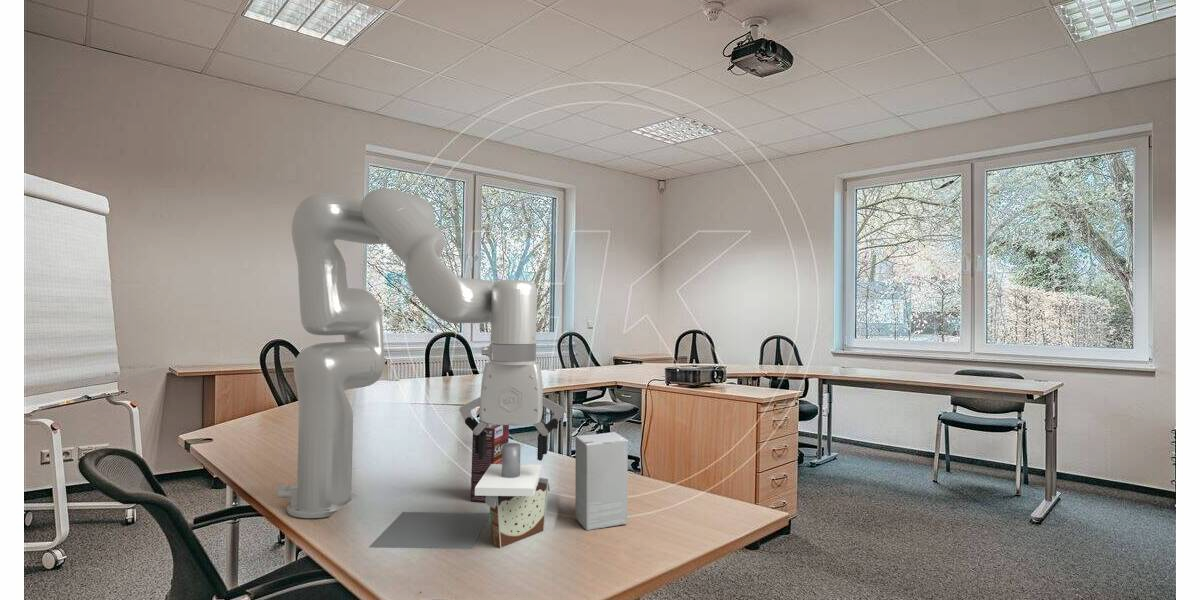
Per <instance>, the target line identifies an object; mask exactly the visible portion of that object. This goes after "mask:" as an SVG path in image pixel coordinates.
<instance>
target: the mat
mask: <svg viewBox="0 0 1200 600" xmlns="http://www.w3.org/2000/svg"><path fill="white" fill-rule="evenodd" d="M489 518H490V512H441V511H439V512H436V511H434V512H431V511H430V512H429V511H428V512H427V511H426V512H425V511H402V512H401V513H400V514H399V515H398V516H397V518H395V519H394V520H393V521H392V522H391V524H389V526H388V527H386V529H385V530H383V532H382V533H381V534H380V535H379V536H378V537H376V539H375V540H373V542H372V543H371V544H370V545H369V547H368V548H382V549H383V548H389V549H390V548H392V549H397V548H399V549H401V548H402V549H454V550H455V549H458V550H459V549H460V550H461V549H463V550H467V549H468V550H470V549H471V550H473V547H474V546H475V544H476V542H477V540H478V538H479V537H480V534H481V533H482V531H483V529H484V527H485V525H486V524H487V521H488V520H489Z"/></svg>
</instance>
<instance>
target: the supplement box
mask: <svg viewBox="0 0 1200 600" xmlns="http://www.w3.org/2000/svg"><path fill="white" fill-rule="evenodd" d="M485 432H486V433H487V441H486V456H485V457H484V458H483V459H482V460H479V459H478V453H475V436H476V435H475V434H474V433H473V432H472V445H471V446H472V447H471V477H470V503H480V504H486V502H485V499H486V496H475V487H476V485H477V484H478V482H479V481H480V480H481V478H482V477H483V475H484V474H485V472H486V471H487V469H488V468H489V467H490V465H491V464H502V445H503V444H506V443H510V442H509V437H510V436H509V435H510V433H509V432H510V425H487V426H486V427H485Z"/></svg>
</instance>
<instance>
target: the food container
mask: <svg viewBox="0 0 1200 600" xmlns="http://www.w3.org/2000/svg"><path fill="white" fill-rule="evenodd" d="M548 491H549V492H550V491H551V486H550V482H549V478H546V477H540V478H539V481H538V484H537V487H536V490H535V493H534V496H486V499H485V502H486V503H485V504H486V505H487V506H489V513H490V516H489V518H490V529H491V543H492V544H493V545H494V546H495V547H497V548H498V549H501V548H504V547H506V546H509V545H512V544H514V543H517V542H519V541H522V540H525V539H527V538H529V537H532V536H534V535H537V534H539V533H541V532H545V527H546V525H545V524H546V513H547V503H548Z"/></svg>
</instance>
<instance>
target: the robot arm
mask: <svg viewBox="0 0 1200 600" xmlns="http://www.w3.org/2000/svg"><path fill="white" fill-rule="evenodd" d="M292 216H293V217H292V219H291V220H292V221H291V238H292V243H293V244H292V245H293V248H294V252H295V256H296V261H297V272H298V273H297V275H298V276H297V277H298V278H297V279H298V293H299V295H298V296H299V310H300V311H299V313H300V321H301V325H302V328H303V329H304V330H305V331H306V332H308V333H309V334H312V335H314V336H326V337H327V336H343V337H344V338H343V339H344V341H335V342H333V341H332V342H331V341H330V342H320V343H316V344H312V345H309V346H307V347H305V348H304V349H303V350H301V351H300V353H299V354H297V356H296V358H295V359H294V364H293V375H294V383H295V387H296V392H297V400H298V403H297V404H298V436H297V437H298V438H297V439H298V440H297V446H298V447H297V475H296V476H297V478H296V479H297V480H296V481H297V482H296V484H295V485H290V484H281V485H280V484H279V486H278V488H277V490H276V491H277V498H278V499H285V498H286V499H290V503H288V505H287V510H286V511H287V512H286V513H287V514H288V515H290V516H291V517H295V518H300V519H320V518H330V517H331V516H333V515H334V514H335V513H337V512H338V511H339V510H341V509H342V508H343V507H344V506H346V505H347V504H348V503H350V502H351V501H352V500H354V499H355V498H356V497H358V495H357V494H355V493H354V492H352V489H353V487H352V486H353V484H352V483H353V476H352V475H353V446H354V445H353V443H354V442H353V440H354V414H353V408H352V405H351V402H350V400H349V398H348V397H347V395H346V392H345V391H347V390H353V389H361V388H365V387H370V386H372V385H374V384H375V383H377V382H378V381H379V380H380V378H381V376H382V374H383V372H384V368H385V349H384V329H383V328H384V326H383V315H382V310H381V306H380V303H379V301H378V299H377V298H376V297H375V296H374V294H373V293H371V292H370V291H368V290H366V289H361V288H353V287H352V288H350V287H349V286H348V281H347V280H348V279H347V266H346V262H345V259H344V257H343V255H342V253H341V251H340V250H339V248H338V247H337V245H336V244H335V241H336V240H339V241H344V242H352V243H357V244H358V243H359V244H365V245H382V244H383V245H386V246H387V247H388V248H389V249H390V250H391V251H392V252H393V253H394V254H395V255H396V256H397V257H398V259H400V261H402V263H404V265H405V266H404V267H405V268H404V270H405V271H404V272H405V276H406V280H407V283H408V286H409V288H410V290H411V291H412V293H413V294H414V295H415V296H416V297H417V299H418V300H419V301H420V302H421V303H422V304H423V305H424V306H425V307H426V308H427V310H429V311H430V312H431V313H432V314H433V315H435V316H436V317H437V318H439V319H440V320H441V321H444V322H446V323H449V324H488V323H490V343H489V345H488V346H483V347H481V353H480V354H481V355H482V356H486V357H487V358H488V359H489V362H485V363H484V367H483V372H482V379H481V385H480V387H481V388H480V395H479V397H477V398H475V399H473V400H472V401H469V402H467V403H464V404H462V405H461V406H460V407H459V409H458V410H459V413H460V414H461V417H462V419H463V420H464V423H465V425H466V426H467V427H468V428H469V429H470V430H471V431H472V434H473V433H474V434H475V435H476V436H475V453H478V459H479V460H482V459H483V458H484V457H485V456H486V441H487V433H486V432H485V427H486V426H487V425H509V426H534V427H535V428H536V429H537V431H538V432H539V434H538V436H537V451H536V452H537V454H536V455H537V460H538V461H540V462H541V461H543V459H544V455H547V454H548V435H549V433H550V432H552V431H553V429H555V428H556V427H557V426H558V424H559V422H560V420H561V419H562V417H563V415H564V413H565V411H566V410H565V407H564V406H561V405H560V404H558V403H556V402H555V401H552V400H550V398H547V397H545V396H544V389H543V387H544V386H543V376H542V370H541V364H540V362H537V322H538V321H537V319H538V318H537V315H538V312H537V311H538V310H537V309H538V307H537V306H538V305H537V304H538V289H537V286H536V284H535V283H534V282H533V281H529V280H521V279H520V280H519V279H504V280H503V279H502V280H497V281H492V280H487V279H486V280H485V279H478V278H469V277H468V278H467V277H459V276H458V275H457V274H455V273H454V272H453V271H452V270H451V269H450V268H449V267H448V266H447V265H446V264H445V263H444V262H443V261H442V260H441V259H440V256H441V254H442V253H443V251H444V249H445V247H446V246H445V245H446V238H445V235H443V233H442V231H441V230H439V228H437V227H436V226H435V224H436V214H435V211H434V209H433V207H432V205H431V204H430V203H429V202H428V201H427V200H426V199H425V198H423V197H420V196H419V195H416V194H412V193H408V192H405V191H401V190H397V189H394V188H388V187H382V188H380V187H379V188H375V189H374V190H372V191H369V192H368V193H366V195H365V196H364V197H363V199H358V198H354V197H350V196H347V195H341V194H337V193H329V192H327V193H326V192H318V193H314V194H310V195H308V196H306V197H305V198H304V199H302V201H301V202H300V203H299V204H298V205H297V207H296V209H295V211H294V213H293V215H292ZM478 407H479V409H478V410H479V413H478V414H479V417H478V418H479V420H480V421H479V422H478V421H477V420H476V419H475V417H474V416H473V415H472V410H473V409H476V408H478ZM544 407H545V408H546V409H548V410H550V411H551V412H552V413H554V415H552V418H551V419H550V420H549V421H548V422H546V421H545V420H544V419H543V415H544Z"/></svg>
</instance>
